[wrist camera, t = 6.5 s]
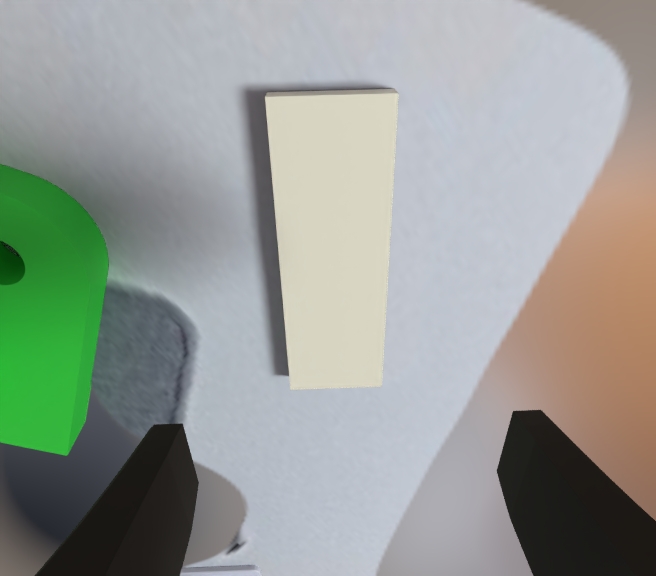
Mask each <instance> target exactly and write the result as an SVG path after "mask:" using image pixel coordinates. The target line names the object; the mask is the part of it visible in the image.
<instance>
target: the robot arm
mask: <svg viewBox="0 0 656 576" xmlns="http://www.w3.org/2000/svg"><path fill="white" fill-rule="evenodd" d="M497 473H498V477H499V481H500V484H501V488H502V492H503V496H504V499H505V502H506V506H507V509H508V512H509V516H510V519H511V522H512V524H513V527H514V529H515V532H516V534H517V537H518V539H519V542H520V544H521V547H522V549H523V551H524V554H525V556H526V559H527V561H528V564H529V566H530V568H531V571H532V573H533V575H534V576H656V521H655V520H654V519H653V518H652V517H650V516H649V515H648V514H647V513H646V512H645V511H644V510H643V509H642V508H641V507H639V506H638V505H637V504H636V503H635V502H634V501H633V500H632V499H631V498H630V497H629V496H628V495H627V494H626V493H625V492H623V490H622V489H621V488H619V487H618V486H617V485H616V484H615V483H614V482H613V481H612V480H611V479H610V478H609V477H608V476H607V475H606V474H605V473H604V472H603V471H602V470H601V469H599V467H598V466H597V465H596V464H595V463H594V462H592V460H591V459H589V457H587V455H585V454H584V453H583V452H582V451H581V450H580V449H579V448H578V447H577V446H576V445H575V444H574V443H573V442H572V441H571V440H570V439H569V438H568V437H567V436H566V435H565V434H564V433H563V432H562V431H561V430H560V429H559V428H558V427H557V426H556V425H555V424H554V423H553V422H552V421H551V420H550V419H549V418H548V417H547V416H546V415H545V414H544V413H543V412H542V411H541V410H528V411H513V413H512V418H511V421H510V425H509V428H508V432H507V435H506V439H505V443H504V446H503V450H502V454H501V457H500V461H499V465H498V469H497ZM198 483H199V482H198V479H197V475H196V471H195V468H194V464H193V460H192V457H191V453H190V449H189V445H188V442H187V438H186V434H185V431H184V427H183V424H159V425H154V426H153V427H151V428H150V430H149V431H148V432H147V434H146V435H145V437H144V438H143V439H142V441H141V442H140V444H139V445H138V446H137V448H136V449H135V451H134V452H133V453H132V455H131V456H130V458H129V459H128V460H127V462H126V463H125V464H124V466H123V467H122V468H121V470H120V471H119V472H118V474H117V475H116V476H115V478H114V479H113V481H112V482H111V483H110V485H109V486H108V487H107V488H106V490H105V491H104V492H103V494H102V495H101V496H100V497H99V499H98V500H97V501H96V502H95V504H94V505H93V506H92V508H91V509H90V510H89V512H88V513H87V514H86V515H85V517H84V518H83V519H82V520H81V522H80V523H79V524H78V525H77V526H76V528H75V529H74V530H73V531H72V533H71V534H70V535H69V536H68V537H67V538H66V540H65V541H64V542H63V543H62V544H61V546H60V547H59V548H58V549H57V550H56V551H55V553H54V554H53V555H52V556H51V557H50V558H49V560H48V561H47V562H46V563H45V564H44V566H43V567H42V568H41V569H40V570H39V571H38V572H37V574H36V575H35V576H262V574H261V569H260V567H258V566H255V565H244V566H220V567H196V568H183V567H182V565H183V561H184V558H185V553H186V549H187V546H188V542H189V538H190V534H191V530H192V524H193V517H194V511H195V505H196V498H197V491H198Z"/></svg>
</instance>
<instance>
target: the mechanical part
mask: <svg viewBox="0 0 656 576" xmlns="http://www.w3.org/2000/svg"><path fill="white" fill-rule="evenodd" d="M1 241H3V242H5V243H6V244H8V245H10V246H11V247H12V248H14V249H15V250H16V251H17V252H18V253H19V255H20V256H21V257H18V256H16V255H15V254H13V253H11V252H10V251H9V250H8V249H7V248H6V247H5V246H4V245H3V244H2V242H1ZM108 267H109V260H108V252H107V248H106V244H105V241H104V239H103V236H102V234H101V232H100V230H99V228H98V227H97V225H96V223H95V222H94V220H93V219H92V218H91V216H90V215H89V214H88V213H87V211H86V210H85V209H84V208H83V207H82V206H81V205H80V204H79V203H78V202H77V201H76V200H74V199H73V198H72V197H71V196H70V195H68V194H67V193H66V192H64V191H63V190H61V189H60V188H58V187H57V186H55V185H53V184H52V183H50V182H48V181H46V180H44V179H42V178H39V177H37V176H34V175H32V174H29V173H26V172H23V171H20V170H17V169H14V168H10V167H7V166H4V165H1V164H0V442H1V443H6V444H11V445H17V446H21V447H26V448H31V449H36V450H41V451H47V452H51V453H56V454H61V455H66V456H67V455H68V453H69V451H70V449H71V448H72V446H73V444H74V442H75V440H76V438H77V436H78V434H79V432H80V430H81V428H82V427H83V425H84V423H85V421H86V416H87V409H88V402H89V397H90V391H91V377H92V370H93V364H94V358H95V351H96V345H97V339H98V332H99V326H100V319H101V313H102V307H103V300H104V294H105V288H106V281H107V275H108Z"/></svg>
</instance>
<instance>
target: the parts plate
mask: <svg viewBox="0 0 656 576" xmlns="http://www.w3.org/2000/svg"><path fill="white" fill-rule="evenodd" d="M398 95H399V93H398V92H397V91H396V90H395V89H368V90H330V91H293V92H267V94H266V96H265V103H266V115H267V126H268V138H269V149H270V161H271V172H272V184H273V195H274V207H275V218H276V230H277V241H278V253H279V264H280V275H281V287H282V298H283V310H284V321H285V333H286V344H287V356H288V367H289V379H290V390H296V389H324V388H352V387H379V386H382V373H383V356H384V339H385V321H386V304H387V286H388V269H389V252H390V234H391V217H392V199H393V182H394V165H395V147H396V130H397V112H398Z"/></svg>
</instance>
